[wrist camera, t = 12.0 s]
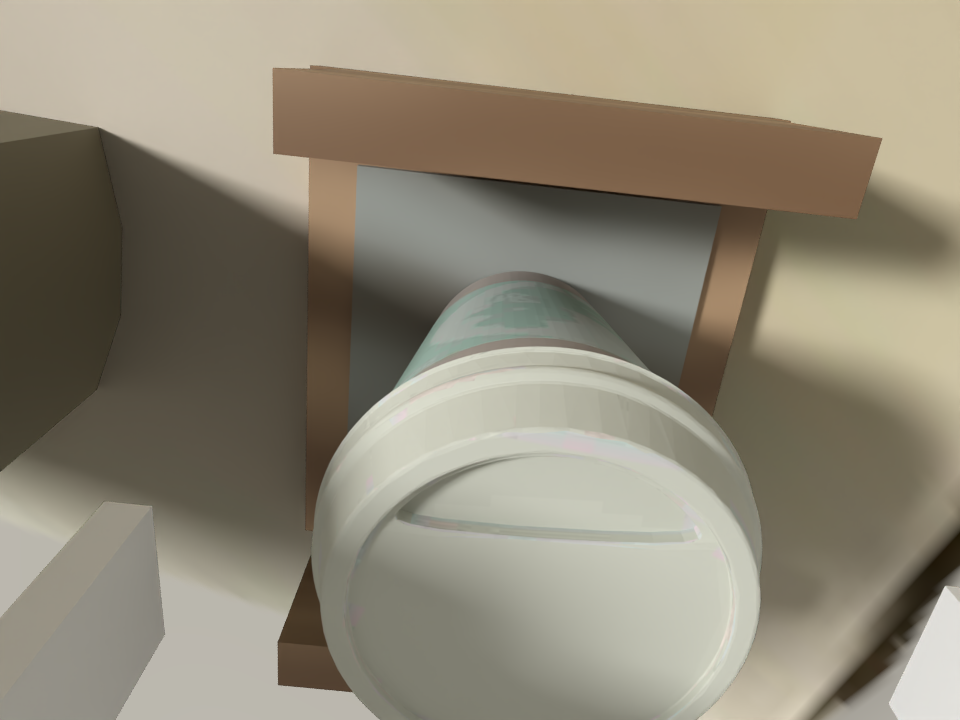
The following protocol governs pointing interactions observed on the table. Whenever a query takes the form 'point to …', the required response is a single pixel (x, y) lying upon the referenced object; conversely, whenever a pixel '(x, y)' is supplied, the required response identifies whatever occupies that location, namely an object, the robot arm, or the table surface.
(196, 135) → the table surface
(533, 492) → the coffee cup
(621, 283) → the holder
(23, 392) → the book
